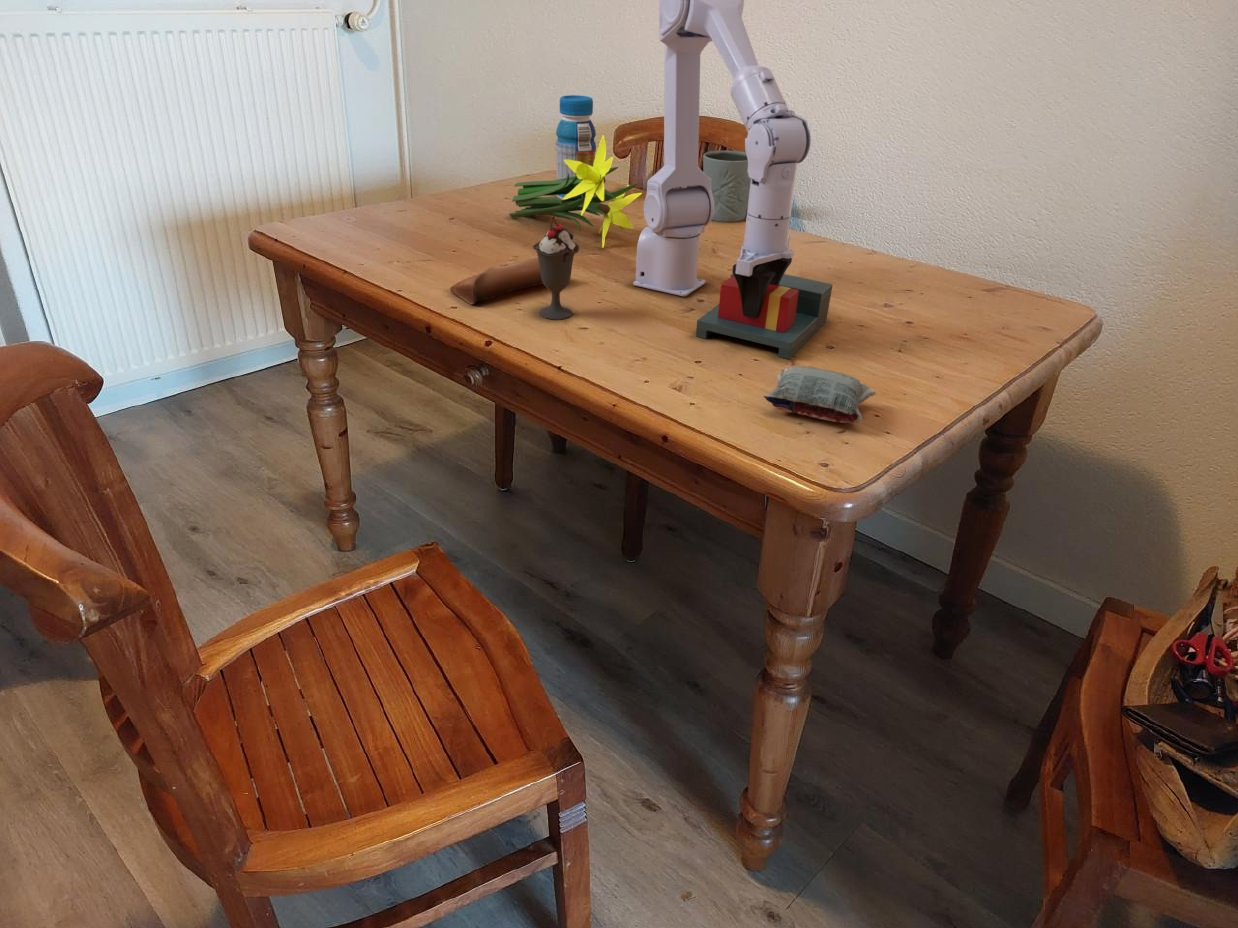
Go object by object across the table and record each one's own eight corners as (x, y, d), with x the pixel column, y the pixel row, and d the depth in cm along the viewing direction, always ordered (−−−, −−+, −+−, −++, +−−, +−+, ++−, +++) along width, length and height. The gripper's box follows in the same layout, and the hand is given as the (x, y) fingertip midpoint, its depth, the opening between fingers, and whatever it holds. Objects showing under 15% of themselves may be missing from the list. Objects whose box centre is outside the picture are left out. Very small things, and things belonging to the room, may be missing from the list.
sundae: (544, 325, 125) (543, 221, 117) (526, 309, 130) (524, 208, 123) (585, 318, 128) (587, 216, 120) (566, 303, 133) (567, 204, 125)
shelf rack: (695, 336, 124) (699, 296, 121) (739, 303, 136) (743, 265, 133) (789, 359, 118) (795, 318, 115) (826, 322, 130) (832, 284, 127)
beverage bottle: (551, 201, 183) (551, 99, 173) (560, 191, 190) (560, 93, 180) (590, 204, 182) (592, 102, 172) (598, 194, 189) (600, 95, 179)
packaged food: (779, 385, 111) (784, 350, 108) (873, 406, 107) (881, 369, 104) (760, 414, 104) (765, 377, 101) (859, 438, 100) (867, 400, 97)
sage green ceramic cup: (750, 224, 174) (757, 162, 167) (699, 222, 174) (705, 159, 167) (745, 210, 182) (751, 151, 176) (696, 208, 182) (701, 149, 176)
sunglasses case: (538, 266, 145) (550, 237, 140) (560, 297, 144) (574, 269, 138) (445, 288, 135) (455, 258, 130) (468, 322, 133) (479, 293, 128)
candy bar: (717, 317, 123) (720, 283, 121) (728, 309, 126) (732, 275, 124) (784, 333, 119) (789, 298, 117) (794, 324, 122) (799, 289, 120)
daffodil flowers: (566, 210, 181) (681, 201, 154) (523, 259, 176) (634, 258, 150) (518, 142, 171) (632, 120, 144) (471, 192, 166) (580, 178, 140)
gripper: (777, 232, 108) (764, 334, 115) (815, 207, 119) (801, 302, 126) (725, 222, 111) (715, 322, 118) (767, 199, 122) (755, 292, 129)
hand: (756, 311), depth 122 cm, fingers closed on candy bar, 4 cm apart
